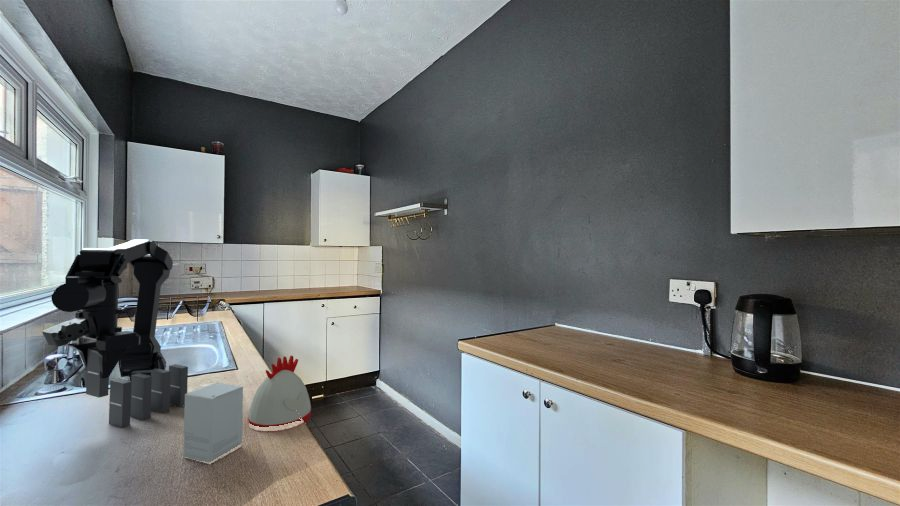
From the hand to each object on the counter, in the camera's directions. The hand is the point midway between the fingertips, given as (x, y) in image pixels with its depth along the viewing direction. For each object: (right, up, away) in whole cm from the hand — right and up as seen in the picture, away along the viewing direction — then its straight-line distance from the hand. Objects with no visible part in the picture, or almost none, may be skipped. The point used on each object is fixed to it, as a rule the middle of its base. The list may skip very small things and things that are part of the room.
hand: (98, 376), depth 81 cm
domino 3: (+3, -13, +8) cm, 15 cm away
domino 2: (+1, -12, +4) cm, 13 cm away
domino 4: (+4, -13, +12) cm, 18 cm away
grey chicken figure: (+36, -14, +9) cm, 40 cm away
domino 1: (0, -4, 0) cm, 4 cm away
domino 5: (+6, -13, +15) cm, 21 cm away
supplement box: (+30, -13, -7) cm, 33 cm away
